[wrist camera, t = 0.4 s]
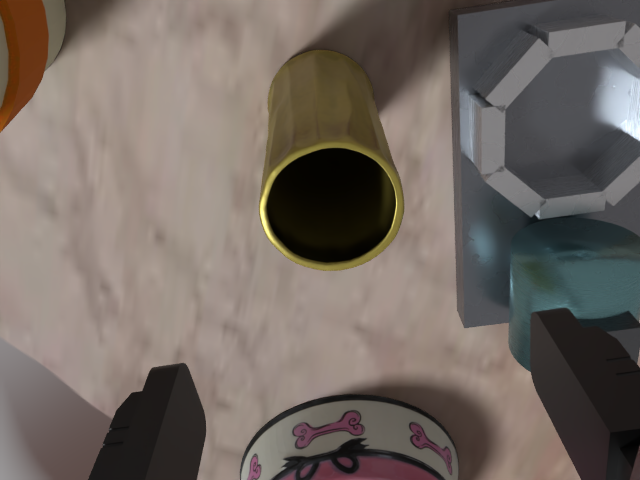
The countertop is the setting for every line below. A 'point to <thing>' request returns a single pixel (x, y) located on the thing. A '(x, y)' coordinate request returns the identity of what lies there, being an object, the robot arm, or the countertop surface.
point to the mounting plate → (547, 164)
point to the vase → (327, 166)
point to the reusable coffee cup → (27, 49)
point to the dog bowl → (351, 443)
